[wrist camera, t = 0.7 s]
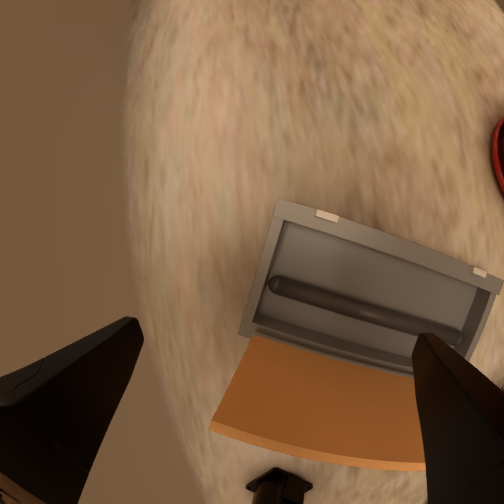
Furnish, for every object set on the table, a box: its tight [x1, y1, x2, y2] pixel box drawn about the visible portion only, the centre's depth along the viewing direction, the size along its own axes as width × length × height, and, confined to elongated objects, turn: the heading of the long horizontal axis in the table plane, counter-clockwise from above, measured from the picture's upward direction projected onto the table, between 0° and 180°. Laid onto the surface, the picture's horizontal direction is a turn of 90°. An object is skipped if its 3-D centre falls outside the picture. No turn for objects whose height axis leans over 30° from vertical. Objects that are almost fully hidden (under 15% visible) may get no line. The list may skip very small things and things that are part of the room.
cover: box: [209, 331, 426, 471], centre depth 16 cm, size 10×19×1 cm
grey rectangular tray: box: [238, 198, 504, 375], centre depth 22 cm, size 11×22×5 cm, turn 73°
